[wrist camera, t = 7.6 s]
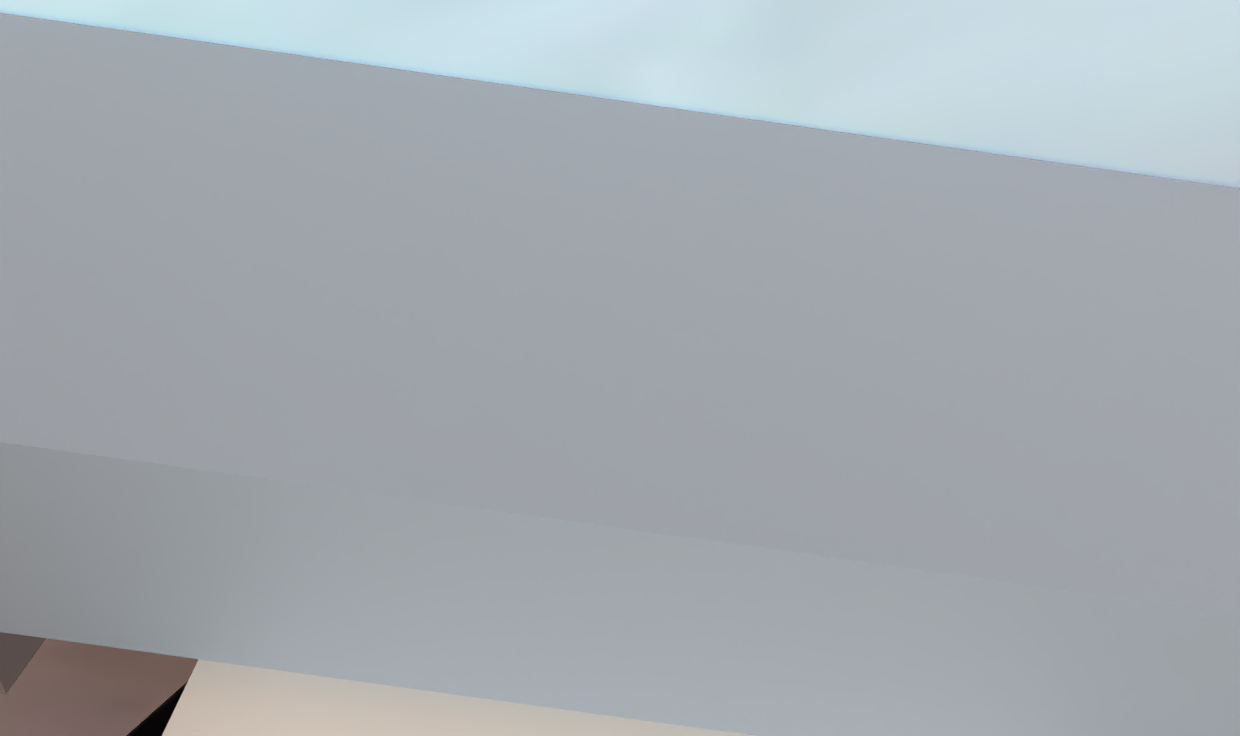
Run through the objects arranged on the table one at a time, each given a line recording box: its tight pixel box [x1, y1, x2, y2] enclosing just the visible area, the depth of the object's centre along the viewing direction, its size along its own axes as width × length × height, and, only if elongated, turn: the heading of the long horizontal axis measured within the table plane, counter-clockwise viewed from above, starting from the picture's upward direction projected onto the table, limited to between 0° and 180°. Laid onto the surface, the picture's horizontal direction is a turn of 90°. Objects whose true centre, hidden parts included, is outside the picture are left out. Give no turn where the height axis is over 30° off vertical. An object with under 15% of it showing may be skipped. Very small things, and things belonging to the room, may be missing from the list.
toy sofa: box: [0, 13, 1240, 736], centre depth 9 cm, size 7×16×6 cm, turn 83°
